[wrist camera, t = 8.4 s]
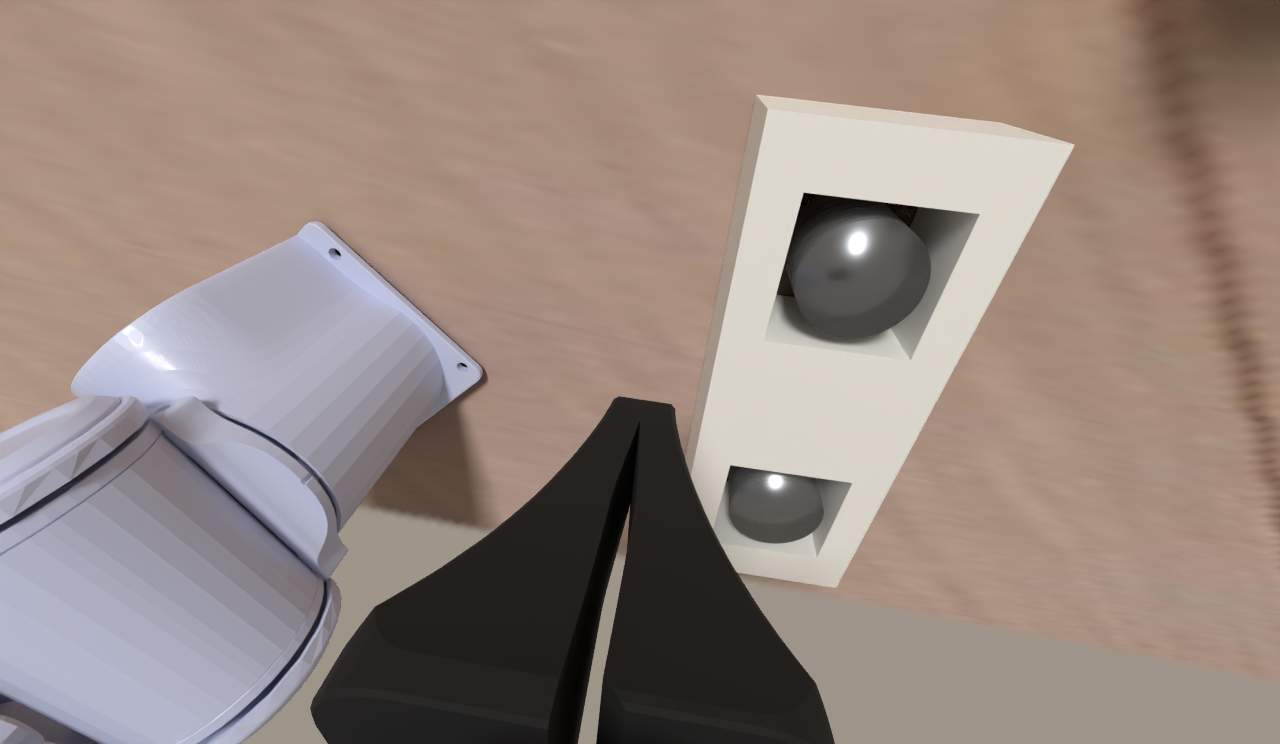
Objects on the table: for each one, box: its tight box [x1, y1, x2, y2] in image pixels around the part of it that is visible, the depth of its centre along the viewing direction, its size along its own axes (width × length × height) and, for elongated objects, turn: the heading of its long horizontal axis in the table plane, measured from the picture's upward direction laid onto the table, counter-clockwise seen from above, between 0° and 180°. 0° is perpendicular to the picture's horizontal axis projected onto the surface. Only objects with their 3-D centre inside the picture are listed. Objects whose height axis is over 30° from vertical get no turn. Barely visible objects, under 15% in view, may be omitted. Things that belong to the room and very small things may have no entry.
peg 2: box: [784, 195, 931, 338], centre depth 17 cm, size 4×4×4 cm
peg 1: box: [728, 465, 824, 544], centre depth 23 cm, size 4×4×4 cm
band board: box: [685, 95, 1074, 588], centre depth 21 cm, size 20×8×4 cm, turn 174°
